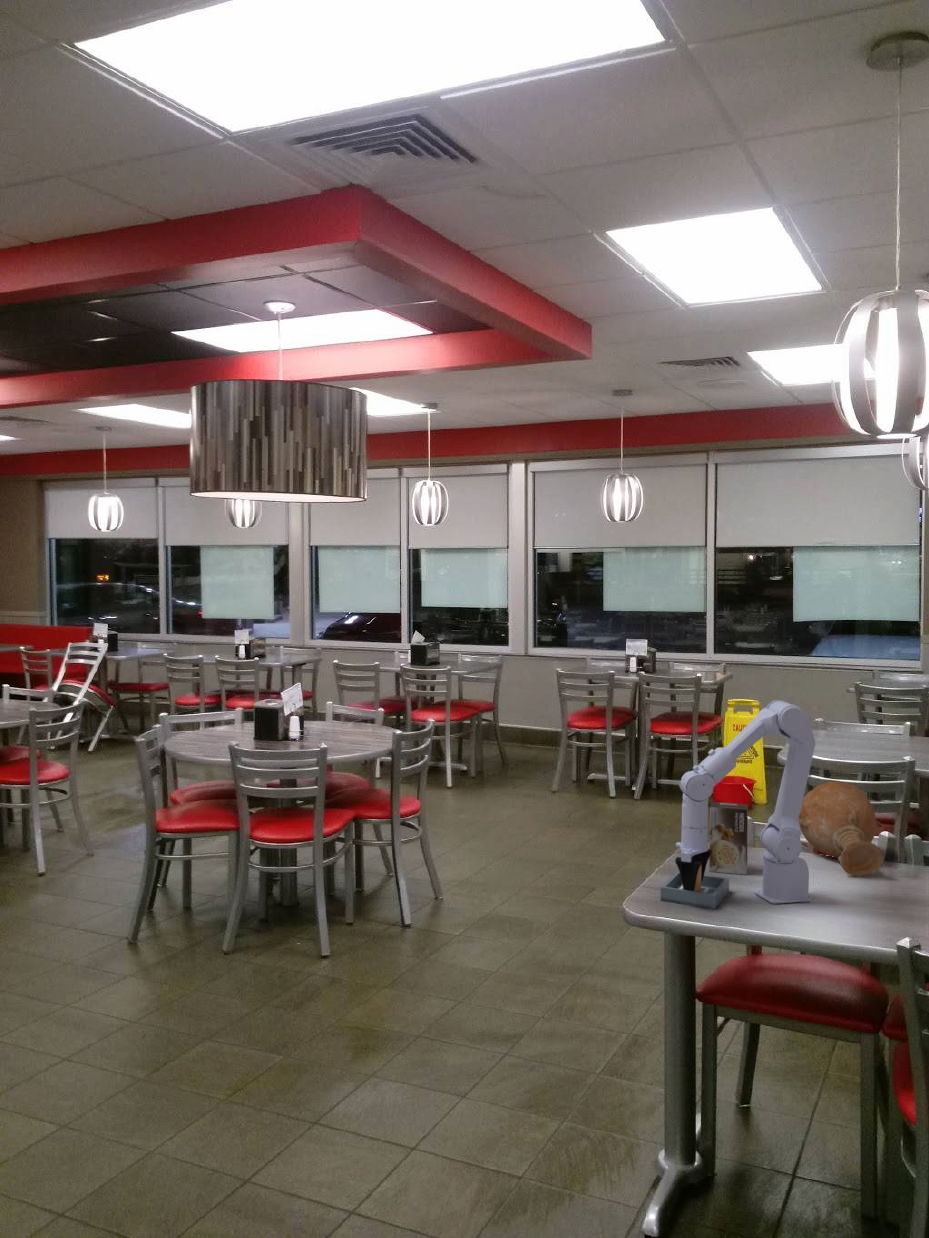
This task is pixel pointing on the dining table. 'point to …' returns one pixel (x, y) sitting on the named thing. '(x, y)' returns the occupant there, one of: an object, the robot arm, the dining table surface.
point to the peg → (698, 881)
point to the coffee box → (728, 838)
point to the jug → (842, 826)
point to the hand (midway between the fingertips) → (693, 885)
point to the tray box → (707, 898)
